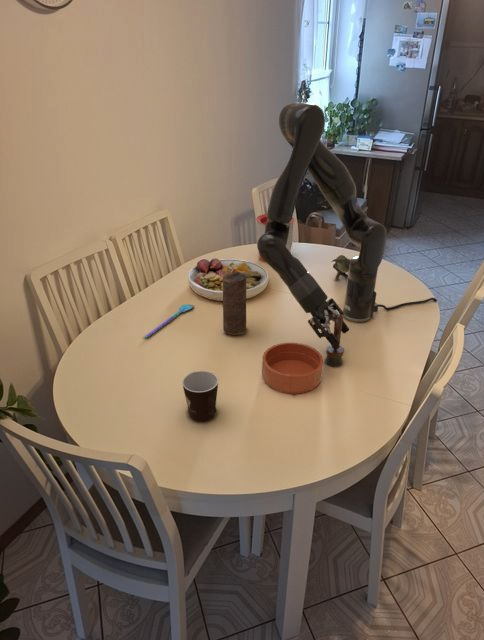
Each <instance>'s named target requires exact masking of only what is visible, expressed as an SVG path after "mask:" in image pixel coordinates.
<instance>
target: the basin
mask: <svg viewBox="0 0 484 640" xmlns="http://www.w3.org/2000/svg"><path fill="white" fill-rule="evenodd" d="M323 357H324V356H323V355H322V354H321V352H320V351H318V350H317V349H316V348H315V347H312V346H310V345H308V344H304V343H300V342H281V343H277V344H274V345H271V346H270V347H268V348H267V349H266V350H265V351H264V352H263V353H262V357H261V358H262V361H261V363H262V364H261V369H262V370H261V375H262V379H263V380H264V382H265V383H266V384H267V385H268V387H270V388H271V389H273V390H275V391H277V392H280V393H284V394H292V395H293V394H294V395H295V394H298V395H299V394H304V393H307V392H310V391H312V390H313V389H315V388H316V387H318V385H319V384H320V382H321V381H322V378H323V370H324V358H323Z"/></svg>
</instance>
